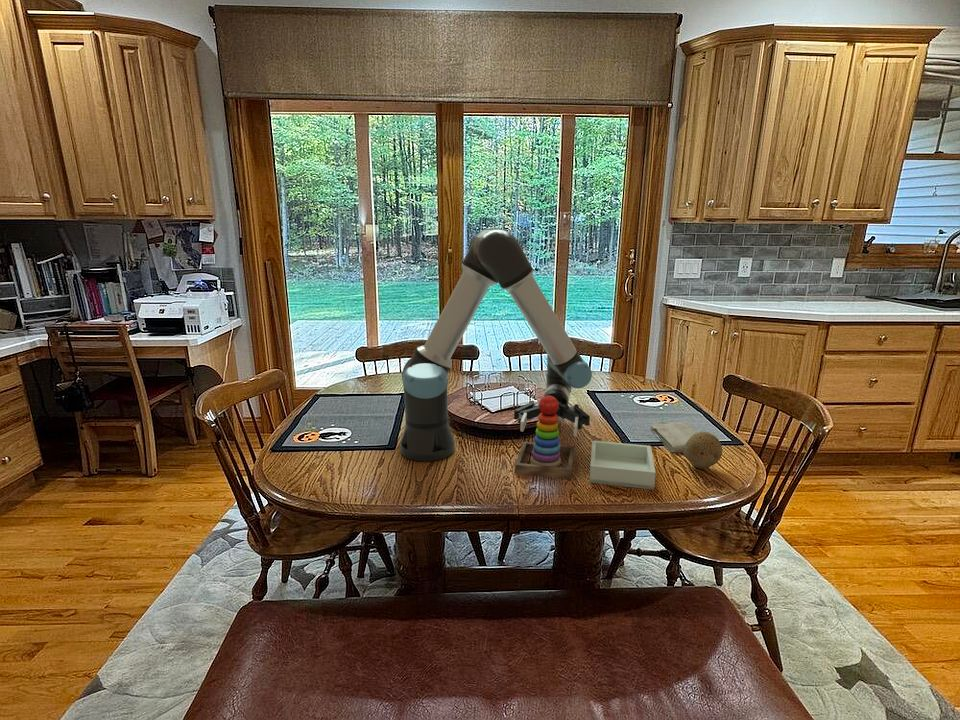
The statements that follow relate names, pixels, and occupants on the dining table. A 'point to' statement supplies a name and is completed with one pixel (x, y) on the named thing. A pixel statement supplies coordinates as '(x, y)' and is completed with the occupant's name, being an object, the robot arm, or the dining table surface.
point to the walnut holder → (545, 470)
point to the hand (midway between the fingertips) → (548, 429)
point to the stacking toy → (547, 434)
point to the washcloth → (673, 434)
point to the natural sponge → (703, 450)
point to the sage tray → (622, 465)
